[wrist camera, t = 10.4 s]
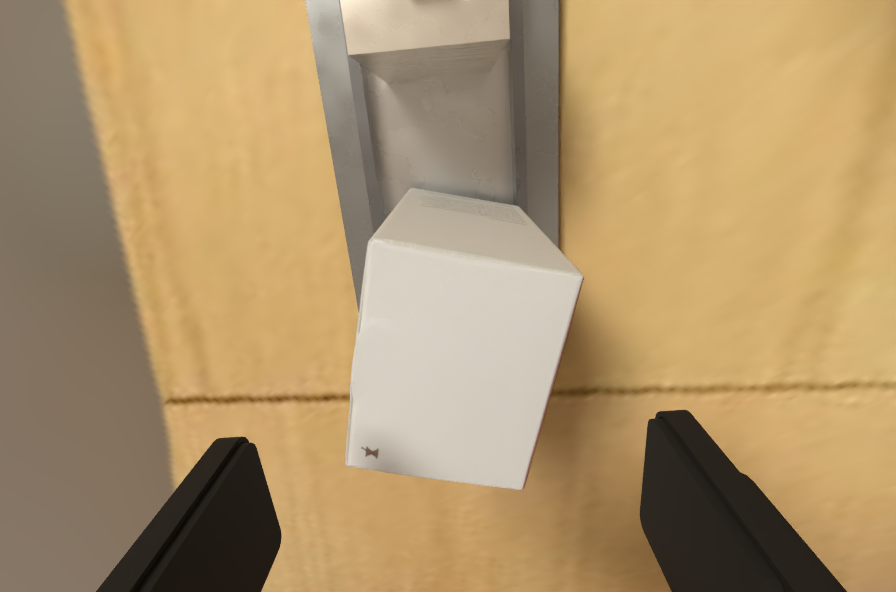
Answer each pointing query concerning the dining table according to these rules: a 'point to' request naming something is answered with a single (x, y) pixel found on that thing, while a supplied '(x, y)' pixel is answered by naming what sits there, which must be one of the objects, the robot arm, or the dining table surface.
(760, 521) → the robot arm
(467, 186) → the rail board
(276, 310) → the dining table surface
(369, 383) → the small box
